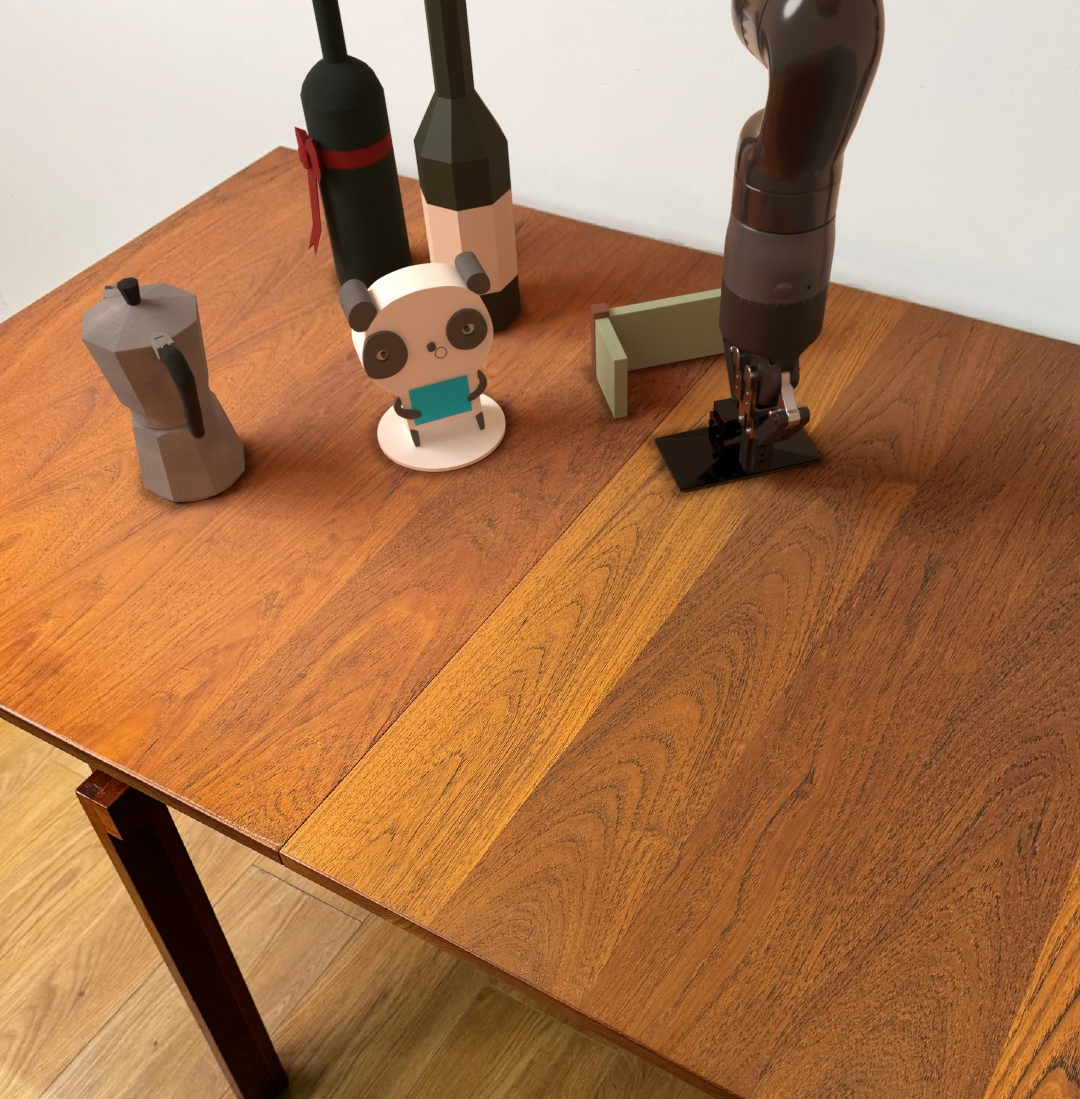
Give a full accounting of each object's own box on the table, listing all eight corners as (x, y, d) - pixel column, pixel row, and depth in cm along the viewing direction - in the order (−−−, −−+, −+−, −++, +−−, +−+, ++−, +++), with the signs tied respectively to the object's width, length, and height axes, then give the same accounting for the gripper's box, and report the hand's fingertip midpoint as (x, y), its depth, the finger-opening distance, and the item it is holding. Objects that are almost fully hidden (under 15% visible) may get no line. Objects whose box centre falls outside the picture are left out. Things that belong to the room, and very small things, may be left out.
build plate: (680, 493, 96) (682, 448, 92) (652, 440, 100) (653, 395, 97) (821, 461, 97) (828, 415, 93) (787, 409, 102) (793, 364, 98)
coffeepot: (118, 451, 103) (38, 264, 89) (215, 410, 106) (152, 223, 92) (184, 547, 95) (107, 358, 81) (287, 501, 98) (231, 310, 84)
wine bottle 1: (304, 276, 119) (225, -57, 96) (390, 243, 122) (334, -88, 99) (338, 311, 115) (264, -29, 92) (427, 275, 118) (377, -62, 95)
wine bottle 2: (445, 287, 117) (400, -53, 93) (527, 289, 116) (502, -55, 92) (429, 335, 112) (377, -12, 88) (514, 338, 110) (484, -13, 87)
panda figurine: (388, 487, 98) (356, 331, 86) (357, 410, 105) (323, 256, 93) (522, 451, 100) (509, 294, 88) (483, 378, 107) (466, 223, 95)
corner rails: (775, 334, 108) (783, 269, 103) (805, 382, 104) (815, 316, 99) (591, 369, 107) (589, 304, 102) (613, 419, 102) (612, 354, 97)
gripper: (864, 310, 78) (828, 509, 91) (792, 216, 86) (768, 411, 100) (758, 330, 77) (737, 527, 91) (695, 233, 85) (685, 427, 99)
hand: (753, 466), depth 95 cm, fingers closed
